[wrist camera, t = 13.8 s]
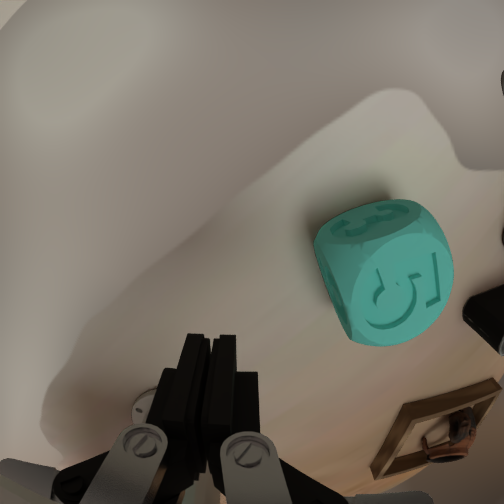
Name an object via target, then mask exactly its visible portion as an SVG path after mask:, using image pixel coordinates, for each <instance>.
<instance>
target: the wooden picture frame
mask: <svg viewBox="0 0 504 504" xmlns="http://www.w3.org/2000/svg"><path fill="white" fill-rule="evenodd" d="M501 390H502V388H501V387H500V385H499V384H498V383H497V382H496V381H495V380H494V378H491V379H489V380H486V381H483V382H480V383H478V384H475V385H472V386H469V387H466V388H463V389H460V390H456V391H453V392H450V393H446V394H443V395H439V396H436V397H432V398H428V399H424V400H420V401H416V402H412V403H407V404H403V407H402V409H401V411H400V413H399V415H398V417H397V419H396V421H395V423H394V425H393V427H392V429H391V431H390V433H389V435H388V437H387V438H386V440H385V442H384V444H383V446H382V448H381V449H380V451H379V453H378V455H377V456H376V458H375V460H374V461H373V463H372V465H371V466H370V468H371V471H372V474H373V477H374V480H379V479H383V478H387V477H391V476H395V475H398V474H401V473H405V472H408V471H411V470H414V469H417V468H420V467H423V466H426V465H429V464H432V463H431V462H427V461H426V459H427V454H426V453H425V452H424V450H422V451H419V452H416V453H413V454H409V455H406V456H402V457H399V458H395V457H396V456H397V454H398V452H399V451H400V449H401V448H402V446H403V445H404V443H405V441H406V440H407V438H408V436H409V435H410V433H411V431H412V429H413V428H414V426H415V424H416V423H420V422H423V421H427V420H430V419H433V418H437V417H440V416H443V415H446V414H449V413H452V412H455V411H458V410H461V409H463V408H466V407H469V406H471V405H474V404H475V406H474V408H473V409H472V412H473V415H474V418H475V424H476V430H477V429H478V427H479V426H480V424H481V423H482V421H483V420H484V418H485V417H486V415H487V414H488V412H489V411H490V409H491V407H492V406H493V404H494V403H495V401H496V399H497V397H498V396H499V394H500V392H501ZM447 443H449V445H452V444H454V443H451V441H448V442H445V443H443V444H440V445H444V444H447ZM438 446H439V445H437V446H434V447H438ZM431 448H432V447H431Z"/></svg>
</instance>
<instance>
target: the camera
mask: <svg viewBox="0 0 504 504" xmlns="http://www.w3.org/2000/svg"><path fill="white" fill-rule="evenodd" d="M462 317H463V320H464V321H465V322H466V323H467V324H468V325H469V326H470V327H471V328H472V329H474V330H475V331H476V332H477V333H478V334H479V335H480V336H481V337H482V338H483V339H484V340H485V341H486V342H487V343H488V344H489V345H490V346H492V347H493V348H494V349H495V350H496V351H497V352H498V353H499V354H500V355H501V356H504V284H503V285H501V286H498V287H496V288H493V289H491V290H488V291H486V292H483V293H480V294H478V295H475V296H472V297H470V298H469V299H468V300H467V302H466V304H465V306H464V309H463V313H462Z"/></svg>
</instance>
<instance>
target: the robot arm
mask: <svg viewBox="0 0 504 504" xmlns="http://www.w3.org/2000/svg"><path fill="white" fill-rule="evenodd" d="M131 416H132V421H133V424H134V425H131V426H129V427H127V428H126V429H124V430H123V431H122V432H121V433H120V435H119V436H118V438H117V440H116V441H115V443H114V445H113V446H112V448H111V450H110V451H107V452H105V453H103V454H100V455H98V456H96V457H93V458H91V459H88V460H86V461H83V462H81V463H78V464H76V465H73V466H70V467H68V468H65V469H63V470H61V471H58V470H56V468H54V467H48V466H43V465H38V464H33V463H28V462H23V461H20V460H16V459H10V458H7V459H3V460H1V461H0V504H220V494H221V493H222V494H223V495H225V496H226V501H227V504H434V502H433V499H432V498H431V497H430V496H429V495H428V494H427V493H425V492H422V491H408V492H399V493H385V494H356V495H355V497H343V496H342V495H340V494H339V493H337V492H335V491H333V490H331V489H329V488H328V487H326V486H324V485H322V484H321V483H319V482H317V481H315V480H314V479H312V478H310V477H309V476H307V475H305V474H304V473H302V472H300V471H299V470H297V469H295V468H294V467H292V466H291V465H289V464H288V463H286V462H285V461H283V460H281V459H280V458H278V454H277V451H276V447H275V446H274V444H273V442H272V441H271V440H270V439H269V438H268V437H266V436H264V435H262V434H261V433H260V417H259V392H258V372H237V362H236V335H220V338H219V339H214V341H213V346H212V352H211V348H210V339H209V338H204V334H190V333H188V334H187V337H186V340H185V343H184V346H183V350H182V353H181V356H180V359H179V363H178V366H177V369H174V368H165V369H164V370H163V372H162V375H161V378H160V381H159V384H158V387H157V389H154V390H151V391H148V392H146V393H144V394H142V395H141V396H140V397H139V398H138V399H137V400H136V401H135V404H134V406H133V408H132V412H131Z"/></svg>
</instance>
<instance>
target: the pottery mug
mask: <svg viewBox="0 0 504 504" xmlns="http://www.w3.org/2000/svg"><path fill="white" fill-rule="evenodd" d="M461 410H462V412H455V413H453V414H452V415H451V416H449V423H450V429H449V432H450V433H449V438H450V441H451V443H454V444H452V445H449V443H447V444H444V445H439V446H438V447H432V448H428V446H427V439H426V438H425V437H424V438H423V439H422V441H423V443H422V444H423V449H424V452H425V453H426V454H427V459H426V461H427V462H431V463H444V462H452V461H456V460H459V459H462V458H464V457H466V456H467V455H468V449H469V448H470V447H471V445H472V444H473V442H474V440H475V436H476V424H475V418H474V415H473V412H472V408H470V407H466V408H463V409H461Z"/></svg>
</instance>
